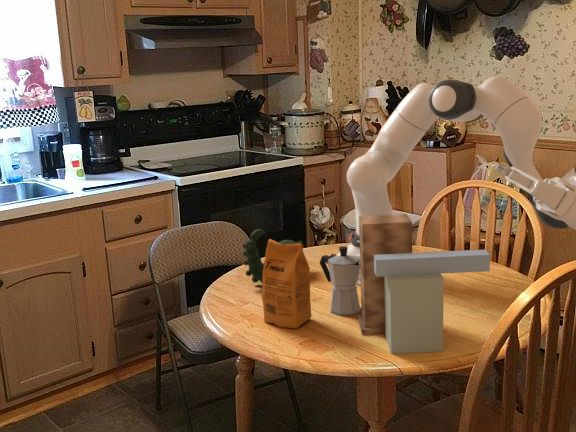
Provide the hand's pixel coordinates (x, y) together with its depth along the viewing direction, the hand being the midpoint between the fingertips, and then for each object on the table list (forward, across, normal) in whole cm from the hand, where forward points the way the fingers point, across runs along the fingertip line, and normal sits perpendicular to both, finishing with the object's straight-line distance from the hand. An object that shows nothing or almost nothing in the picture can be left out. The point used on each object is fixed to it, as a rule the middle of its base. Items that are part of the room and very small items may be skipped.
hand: (503, 169), depth 153 cm
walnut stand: (+3, -6, +48) cm, 49 cm away
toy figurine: (+28, -45, +63) cm, 82 cm away
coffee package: (+25, -11, +61) cm, 67 cm away
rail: (+4, +6, +28) cm, 29 cm away
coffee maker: (+12, -17, +54) cm, 58 cm away
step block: (-1, +6, +46) cm, 46 cm away
